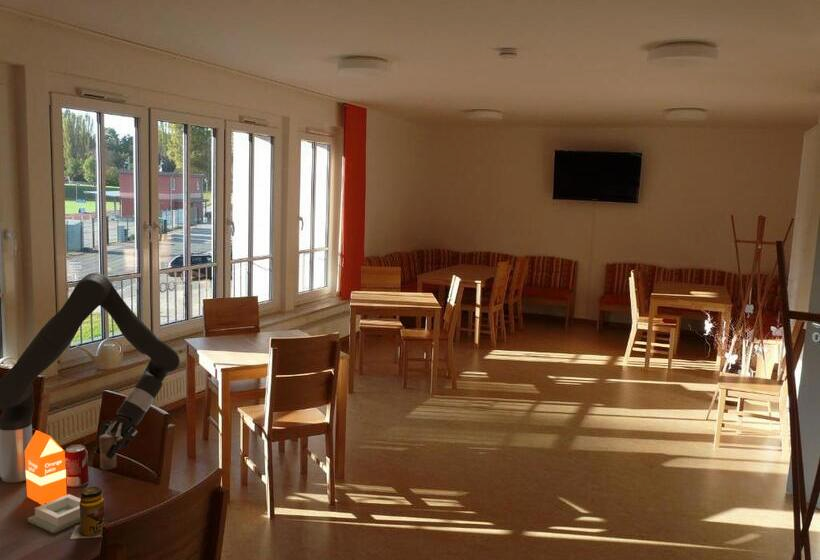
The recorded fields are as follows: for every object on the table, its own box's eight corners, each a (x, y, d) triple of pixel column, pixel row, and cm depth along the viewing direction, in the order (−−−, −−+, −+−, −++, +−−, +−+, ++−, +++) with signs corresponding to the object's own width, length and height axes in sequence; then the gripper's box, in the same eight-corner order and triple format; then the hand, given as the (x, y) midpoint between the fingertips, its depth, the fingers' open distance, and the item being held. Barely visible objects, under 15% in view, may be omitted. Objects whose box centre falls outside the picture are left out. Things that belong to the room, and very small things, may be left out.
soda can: (79, 490, 217) (77, 453, 215) (60, 487, 219) (58, 451, 217) (93, 481, 224) (92, 445, 222) (74, 478, 225) (73, 443, 223)
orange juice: (52, 487, 218) (48, 426, 215) (67, 496, 213) (64, 433, 210) (26, 496, 212) (22, 433, 209) (41, 505, 207) (38, 440, 204)
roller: (97, 467, 211) (96, 436, 210) (110, 462, 215) (109, 432, 213) (106, 470, 209) (105, 440, 207) (119, 465, 213) (118, 435, 211)
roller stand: (27, 521, 197) (27, 509, 197) (73, 502, 209) (72, 491, 209) (53, 533, 191) (52, 521, 191) (99, 513, 203) (98, 501, 203)
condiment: (103, 536, 190) (101, 495, 189) (69, 539, 189) (67, 497, 187) (108, 523, 198) (107, 483, 196) (76, 526, 196) (74, 485, 194)
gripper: (112, 395, 219) (78, 444, 210) (143, 404, 212) (109, 455, 203) (127, 407, 224) (95, 455, 216) (158, 416, 217) (125, 466, 209)
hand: (102, 455), depth 210 cm, fingers closed on roller, 4 cm apart
